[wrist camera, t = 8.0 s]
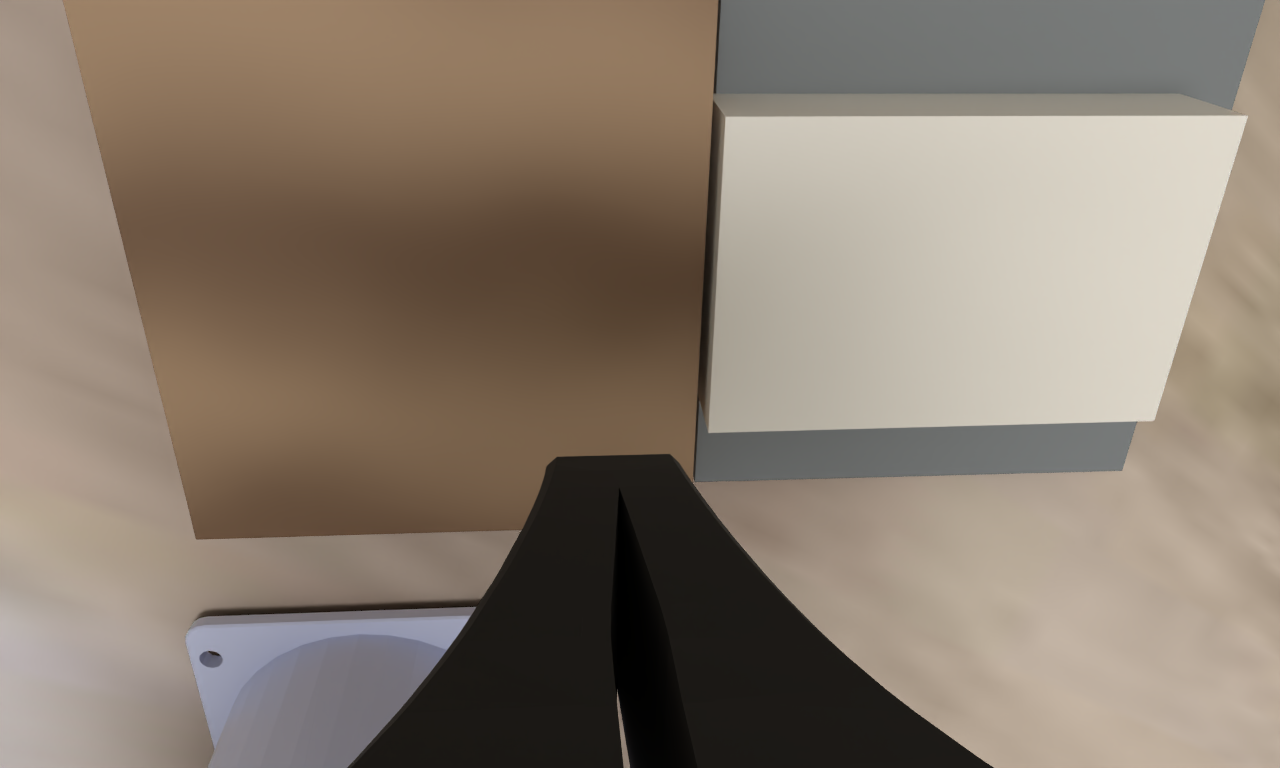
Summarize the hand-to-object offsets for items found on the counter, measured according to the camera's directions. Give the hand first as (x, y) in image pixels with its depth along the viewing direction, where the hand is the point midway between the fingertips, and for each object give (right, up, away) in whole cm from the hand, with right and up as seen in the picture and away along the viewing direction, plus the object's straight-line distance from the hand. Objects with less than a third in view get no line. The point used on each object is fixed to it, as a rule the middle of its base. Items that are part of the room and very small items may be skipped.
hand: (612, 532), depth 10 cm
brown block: (-4, +4, +8) cm, 10 cm away
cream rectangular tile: (+6, +4, +9) cm, 11 cm away
